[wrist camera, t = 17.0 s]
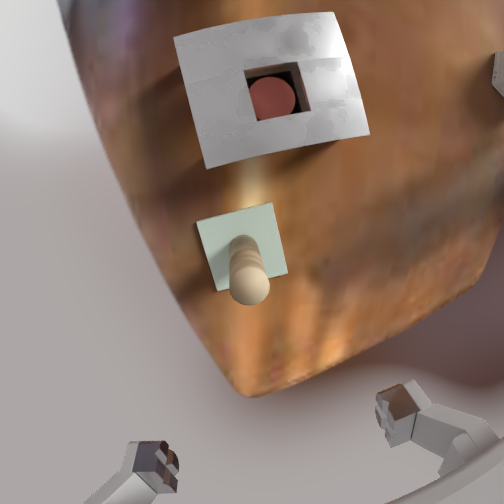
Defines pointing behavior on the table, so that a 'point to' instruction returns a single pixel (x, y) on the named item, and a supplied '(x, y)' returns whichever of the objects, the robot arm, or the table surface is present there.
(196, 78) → the box
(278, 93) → the button
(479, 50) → the table surface
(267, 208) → the coaster
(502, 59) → the supplement box
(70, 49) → the table surface
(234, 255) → the dowel
